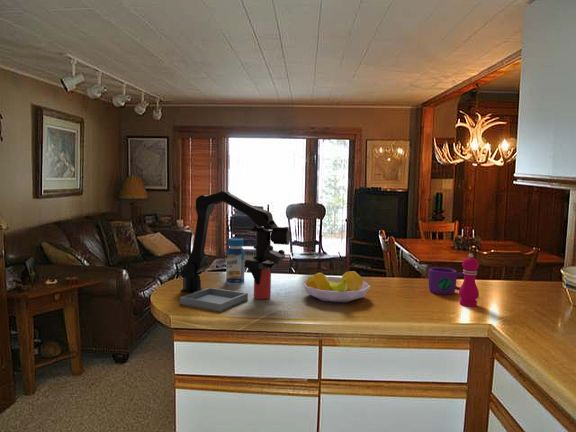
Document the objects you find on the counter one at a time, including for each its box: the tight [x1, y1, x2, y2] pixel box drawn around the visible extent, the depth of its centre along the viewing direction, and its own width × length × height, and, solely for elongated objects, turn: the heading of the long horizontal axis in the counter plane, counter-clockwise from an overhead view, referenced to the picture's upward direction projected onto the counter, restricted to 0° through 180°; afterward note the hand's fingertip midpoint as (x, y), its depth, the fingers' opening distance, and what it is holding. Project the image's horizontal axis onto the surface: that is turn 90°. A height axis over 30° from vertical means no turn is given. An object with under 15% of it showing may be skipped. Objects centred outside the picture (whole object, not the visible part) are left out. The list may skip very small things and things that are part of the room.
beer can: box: [253, 266, 272, 301], centre depth 176 cm, size 7×7×12 cm
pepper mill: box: [458, 253, 480, 308], centre depth 174 cm, size 7×7×20 cm
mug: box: [428, 266, 464, 296], centre depth 192 cm, size 17×11×10 cm, turn 83°
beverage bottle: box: [225, 237, 246, 285], centre depth 201 cm, size 8×8×20 cm
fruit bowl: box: [302, 270, 371, 304], centre depth 178 cm, size 28×27×11 cm
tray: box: [179, 287, 249, 313], centre depth 169 cm, size 18×18×3 cm
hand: (262, 282), depth 176 cm, fingers closed on beer can, 7 cm apart
